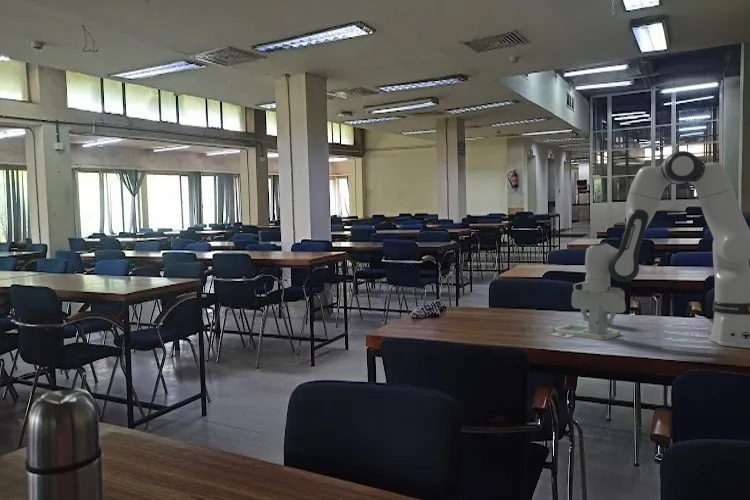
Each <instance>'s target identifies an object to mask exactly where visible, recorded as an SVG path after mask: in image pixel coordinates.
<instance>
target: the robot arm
mask: <svg viewBox="0 0 750 500" xmlns="http://www.w3.org/2000/svg"><path fill="white" fill-rule="evenodd" d="M685 183H689V184H691V185H692V186H693V187H694V189H695V191H696V195H697V197H698V198H697V199H698V201H699V205H700V207H701V211H702V213H703V216H704V220H705V221H706V224H707V226H708V228H709V231H710V233H711V236H712V238H713V240H712V262H713V263H712V265H713V274H714V299H713V302H712V316H713V322H712V329H711V332H710V335H709V338H708V340H709V341H711V342H714V343H717V345H720V346H725V347H734V348H744V349H750V227H749V226H748V225H749V224H748V223H747V221H746V218H745V216H744V215H743V212H742V210H741V206H740V204H739V201H738V199H737V195H736V192H735V189H734V186H733V184H732V181H731V179H730V176H729V175H728V172H727V171H726V169H725V168H724V166H723V165H722V164H721V163H719V162H714V161H713V162H706V163H705V162H703V161H702V160H701V159H699V157H697V156H696V155H695V154H693V153H691V152H689V151H685V150H679V151H676V152H674V153H671V154H670V155H668V156H667V157H666V158H665V159H664V161H662V163H660V165H658V166H653V165H646V166H645V165H644V166H643V167H641V168H640V169H639V170H638V171H637V172H636V174H635V176H634V179H633V180H632V183H631V185H630V188H629V191H628V194H627V198H626V200H625V201H626V202H625V209H624V210H625V212H624V213H625V219H626V221H625V222H626V224H625V230H624V232H623V237H622V240H621V243H620V246H619V249H618V248H616V247H614V246H612V245H610V244H608V243H607V242H598V243H594V244H590V245H589V246H588V247H587V248H586V250H585V255H584V256H585V257H584V258H585V259H584V266H585V267H584V269H585V272H586V274H585V276H584V277H585V280H584V281H581V282H578V283H574V284H573V285H572V288H573V289H572V290H573V291H572V294H571V306H572V308H573V309H580V313H581V315H582V316H583V321H584V322H589V314H587V311H589V310H594V305H601V306H602V311H604V312H608V313H609V316H610V317H609V318H607V325H613V324H614V319H615V317H616V315H617V314H622V313H625V311H626V309H627V308H626V302H625V301H626V300H625V299H626V298H625V297H626V296H625V291H624V289H622V288H621V287H613V286H611V277H612V279H614V280H615V281H617V282H619V283H620V282H621V283H627V282H630V281H632V280H634V279H636V278H637V276H638V274H639V272H640V264H639V263H640V262H639V252H640V249H641V245H642V242H643V239H644V235H645V232H646V230H647V228H648V226H649V225H650V223H651V222H652V219H653V218H654V216H655V214H656V212H657V210H658V208H659V205H660V203H661V199H662V196H663V194H664V191H665V189H666V187H667V186H668V185H680V184H685Z"/></svg>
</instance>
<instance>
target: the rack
mask: <svg viewBox="0 0 750 500" xmlns="http://www.w3.org/2000/svg"><path fill="white" fill-rule="evenodd" d="M588 328H589V326H586V325H580V324H572V323H570V324H566V325H561V326H558V327H554V328H552V333H550V334H549V336H553V337H559V338H567V339H570V338H573V337H578V338H585V339H591V340H592V339H593V340H599V341H606V340H609V339H612V338H615V337H618V336H621V330H617V329H616V330H614V329H608V328H607V334H605V335H596V334H589V333H588Z"/></svg>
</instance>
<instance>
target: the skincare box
mask: <svg viewBox="0 0 750 500" xmlns="http://www.w3.org/2000/svg"><path fill="white" fill-rule="evenodd" d="M608 313H609V312H604V311H602V306H601V305H594V310H588V316H589V321H588V327H589V328H588V333H589V334H596V335H605V334H607V329H608V324H607V319H608Z"/></svg>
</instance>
